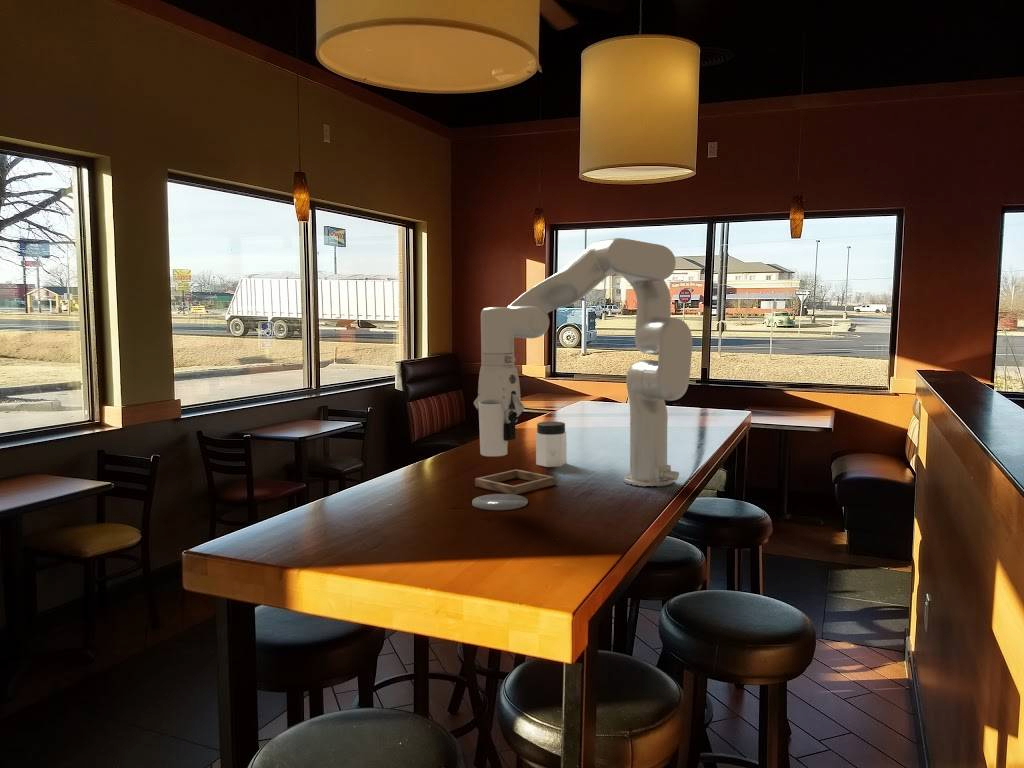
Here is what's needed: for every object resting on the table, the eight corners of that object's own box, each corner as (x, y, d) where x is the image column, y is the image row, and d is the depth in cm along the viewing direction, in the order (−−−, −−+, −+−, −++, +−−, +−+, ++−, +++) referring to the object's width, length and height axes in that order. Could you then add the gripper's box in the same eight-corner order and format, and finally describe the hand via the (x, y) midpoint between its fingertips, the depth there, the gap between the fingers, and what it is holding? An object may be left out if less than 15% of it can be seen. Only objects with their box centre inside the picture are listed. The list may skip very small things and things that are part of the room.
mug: (498, 457, 172) (498, 404, 171) (473, 455, 176) (472, 403, 174) (520, 450, 181) (520, 400, 180) (496, 448, 184) (495, 398, 183)
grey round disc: (539, 502, 179) (539, 500, 179) (499, 513, 170) (499, 511, 170) (500, 493, 188) (500, 491, 188) (460, 503, 179) (460, 501, 179)
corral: (554, 484, 197) (554, 476, 197) (513, 495, 186) (513, 487, 186) (516, 476, 207) (516, 469, 207) (475, 486, 196) (474, 478, 196)
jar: (538, 467, 218) (538, 426, 217) (533, 462, 226) (533, 421, 225) (569, 466, 219) (569, 425, 218) (563, 460, 227) (563, 420, 226)
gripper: (536, 361, 172) (536, 440, 174) (484, 358, 185) (485, 432, 186) (512, 363, 167) (513, 444, 169) (460, 360, 179) (461, 436, 181)
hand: (498, 437), depth 178 cm, fingers closed on mug, 6 cm apart
